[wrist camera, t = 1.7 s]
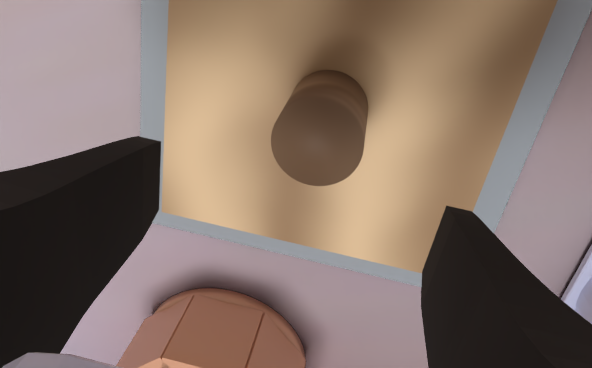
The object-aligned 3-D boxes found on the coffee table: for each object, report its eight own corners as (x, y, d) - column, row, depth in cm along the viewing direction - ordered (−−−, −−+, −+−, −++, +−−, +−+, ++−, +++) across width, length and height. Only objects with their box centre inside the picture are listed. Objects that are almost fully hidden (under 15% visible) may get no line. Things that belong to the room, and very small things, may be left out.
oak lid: (565, -46, 16) (621, -35, 12) (443, 265, 22) (454, 337, 19) (183, -117, 17) (121, -129, 13) (170, 201, 23) (125, 257, 19)
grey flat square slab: (629, -89, 16) (635, -90, 15) (464, 292, 23) (465, 297, 23) (147, -176, 17) (142, -177, 16) (143, 215, 25) (139, 220, 24)
